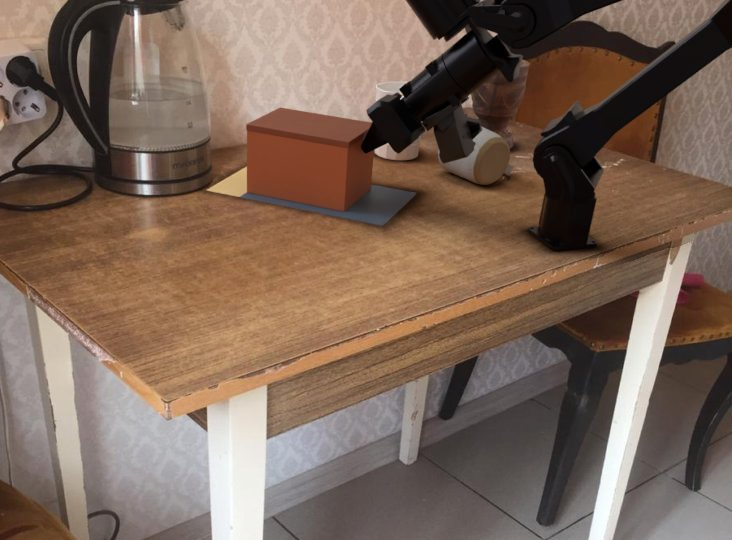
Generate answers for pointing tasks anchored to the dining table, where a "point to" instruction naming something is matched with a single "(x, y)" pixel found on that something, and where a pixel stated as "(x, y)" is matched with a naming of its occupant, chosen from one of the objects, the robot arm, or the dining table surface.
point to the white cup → (386, 149)
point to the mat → (367, 209)
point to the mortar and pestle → (499, 100)
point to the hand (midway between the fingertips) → (363, 150)
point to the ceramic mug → (483, 160)
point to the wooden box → (308, 158)
